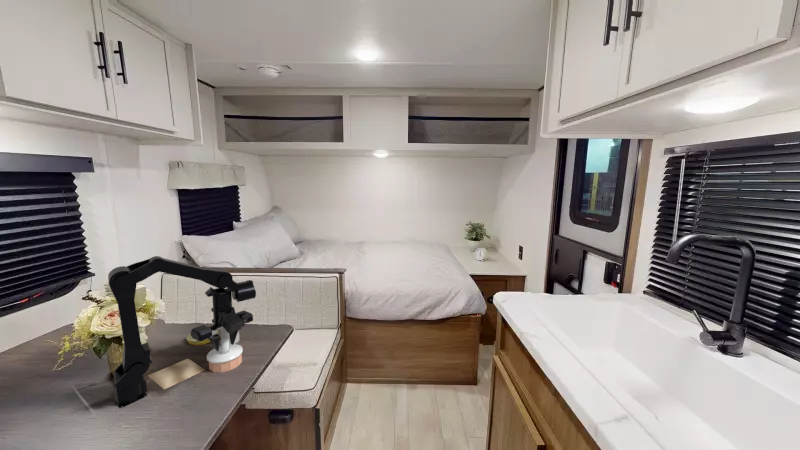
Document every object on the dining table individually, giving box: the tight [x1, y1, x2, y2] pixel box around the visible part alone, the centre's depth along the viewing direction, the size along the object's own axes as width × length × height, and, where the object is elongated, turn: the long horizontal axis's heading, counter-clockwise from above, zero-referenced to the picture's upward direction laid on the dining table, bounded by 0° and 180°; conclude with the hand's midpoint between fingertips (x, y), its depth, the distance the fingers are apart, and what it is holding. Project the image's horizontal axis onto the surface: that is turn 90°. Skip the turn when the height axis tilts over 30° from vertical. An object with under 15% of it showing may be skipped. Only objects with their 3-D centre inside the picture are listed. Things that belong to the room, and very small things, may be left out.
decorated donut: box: [185, 329, 219, 346], centre depth 125 cm, size 10×11×4 cm
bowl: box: [208, 353, 243, 373], centre depth 109 cm, size 10×10×4 cm
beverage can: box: [219, 311, 240, 345], centre depth 123 cm, size 6×6×12 cm
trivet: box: [147, 358, 206, 390], centre depth 104 cm, size 12×12×1 cm
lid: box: [206, 339, 244, 363], centre depth 109 cm, size 11×11×5 cm
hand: (225, 347), depth 109 cm, fingers open, 5 cm apart
